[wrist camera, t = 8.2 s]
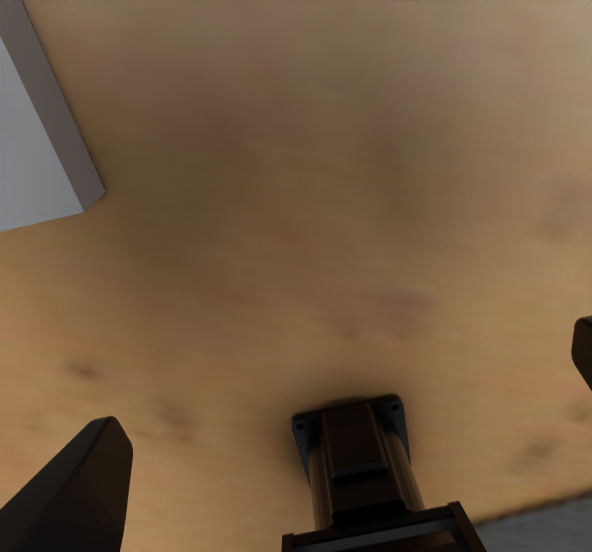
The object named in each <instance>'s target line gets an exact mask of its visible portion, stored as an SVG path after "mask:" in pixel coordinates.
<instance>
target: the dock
mask: <svg viewBox="0 0 592 552" xmlns="http://www.w3.org/2000/svg"><path fill="white" fill-rule="evenodd" d="M105 193H106V191H105V189H104V187H103V185H102V182H101V180H100V178H99V176H98V173H97V171H96V169H95V166H94V164H93V162H92V160H91V157H90V155H89V153H88V151H87V148H86V146H85V144H84V141H83V139H82V137H81V135H80V132H79V130H78V128H77V126H76V123H75V121H74V119H73V116H72V114H71V112H70V110H69V107H68V105H67V103H66V101H65V98H64V96H63V94H62V91H61V89H60V87H59V85H58V82H57V80H56V78H55V76H54V73H53V71H52V69H51V66H50V64H49V62H48V60H47V57H46V55H45V53H44V51H43V48H42V46H41V44H40V41H39V39H38V37H37V35H36V32H35V30H34V28H33V25H32V23H31V21H30V19H29V16H28V14H27V12H26V10H25V7H24V5H23V3H22V0H0V232H1V231H6V230H10V229H15V228H19V227H23V226H28V225H32V224H36V223H41V222H45V221H49V220H54V219H58V218H62V217H67V216H71V215H76V214H80V213H84V212H85V211H86V210H87V209H89V208H90V207H91V206H92V205H93V204H94V203H95V202H96V201H97V200H98V199H99V198H100V197H101V196H102V195H103V194H105Z"/></svg>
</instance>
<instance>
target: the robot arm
mask: <svg viewBox="0 0 592 552" xmlns="http://www.w3.org/2000/svg"><path fill="white" fill-rule="evenodd" d="M571 355H572V359H573V362H574V364H575V366H576V368H577V369H578V371H579V372H580V374H581V375H582V377H583V378H584V380H585V382H586V383H587V385H588V386H589V388H590V389H591V391H592V315H591V316H587V317H582V318H579V319H578V320H577V321H576V322H575V326H574V333H573V341H572V349H571ZM393 404H395V405H393ZM291 421H292V430H293V433H294V437H295V440H296V443H297V446H298V450H299V453H300V456H301V459H302V463H303V466H304V469H305V472H306V476H307V479H308V482H309V485H310V488H311V494H312V503H313V513H314V522H315V531H312V532H307V533H301V534H296V535H294V533H290V534H285V535H283V536H282V552H487V551H486V549H485V548H484V546H483V544H482V542H481V540H480V538H479V537H478V535H477V533H476V531H475V529H474V527H473V526H472V524H471V522H470V520H469V518H468V517H467V515H466V513H465V511H464V509H463V507H462V506H461V504H460V502H459V501H455V502H450V503H447V505H446V506H440V507H435V508H430V509H425V506H424V503H423V501H422V498H421V495H420V492H419V489H418V486H417V483H416V480H415V478H414V475H413V472H412V469H411V463H410V455H409V447H408V439H407V431H406V423H405V415H404V407H403V403H402V401H401V398H400V397H398V396H389V397H384V398H379V399H374V400H370V401H365V402H360V403H355V404H350V405H345V406H340V407H335V408H331V409H326V410H321V411H316V412H311V413H306V414H301V415H297V416H295V417H293V419H292V420H291ZM299 423H302V424H299ZM132 460H133V448H132V444H131V442H130V440H129V438H128V437H127V435H126V433H125V431H124V430H123V428H122V426H121V425H120V423H119V421H118V420H117V418H115V417H114V416H108V417H103V418H98V419H95V420H92V421H91V422H90V423H88V424H87V425H86V426H85V427H84V428H83V429H82V430H81V431H80V432H79V433H78V434H77V435H76V436H75V437H74V438H73V439H72V440H71V441H70V442H69V443H68V444H67V445H66V446H65V447H64V448H63V449H62V450H61V451H60V452H59V453H58V454H57V455H56V456H55V457H54V458H53V459H52V460H51V461H49V462H48V463H47V464H46V465H45V466H44V467H43V468H42V469H41V470H40V471H39V472H38V473H37V474H36V475H35V476H34V477H33V478H32V479H31V480H30V481H29V482H28V483H27V484H26V485H25V486H24V487H23V488H22V489H21V490H20V491H19V492H18V493H17V494H16V495H15V496H14V497H13V498H12V499H11V500H9V501H8V502H7V503H6V504H5V505H4V506H3V507H2V508H1V509H0V552H120V548H121V543H122V538H123V533H124V526H125V519H126V511H127V502H128V494H129V485H130V477H131V468H132Z"/></svg>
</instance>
